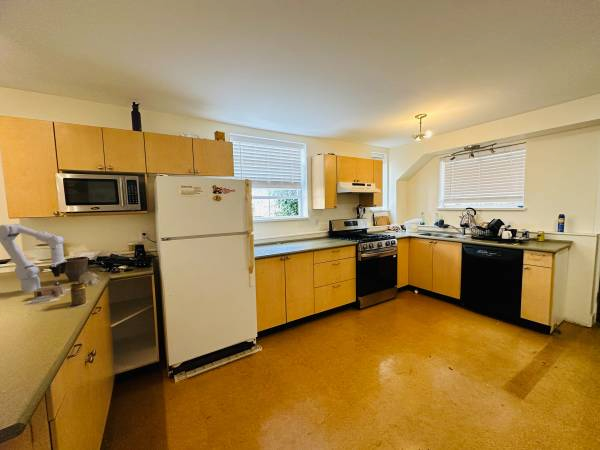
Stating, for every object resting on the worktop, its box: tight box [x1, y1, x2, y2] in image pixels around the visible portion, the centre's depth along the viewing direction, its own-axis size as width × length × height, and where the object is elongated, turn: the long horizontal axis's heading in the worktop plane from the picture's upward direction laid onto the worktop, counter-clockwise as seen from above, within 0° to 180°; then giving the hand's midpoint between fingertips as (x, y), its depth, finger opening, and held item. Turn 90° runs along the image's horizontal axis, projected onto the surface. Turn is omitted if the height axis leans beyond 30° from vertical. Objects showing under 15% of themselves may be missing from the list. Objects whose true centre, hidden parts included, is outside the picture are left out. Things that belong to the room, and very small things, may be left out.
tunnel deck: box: [21, 285, 71, 308], centre depth 147 cm, size 26×14×6 cm, turn 27°
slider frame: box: [31, 280, 66, 303], centre depth 148 cm, size 23×7×5 cm, turn 27°
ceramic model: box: [79, 271, 102, 288], centre depth 168 cm, size 14×11×10 cm
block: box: [42, 290, 55, 296], centre depth 147 cm, size 4×4×4 cm
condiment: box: [66, 281, 90, 309], centre depth 136 cm, size 7×8×12 cm
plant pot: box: [64, 256, 89, 283], centre depth 180 cm, size 15×15×16 cm
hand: (59, 275), depth 161 cm, fingers open, 7 cm apart
